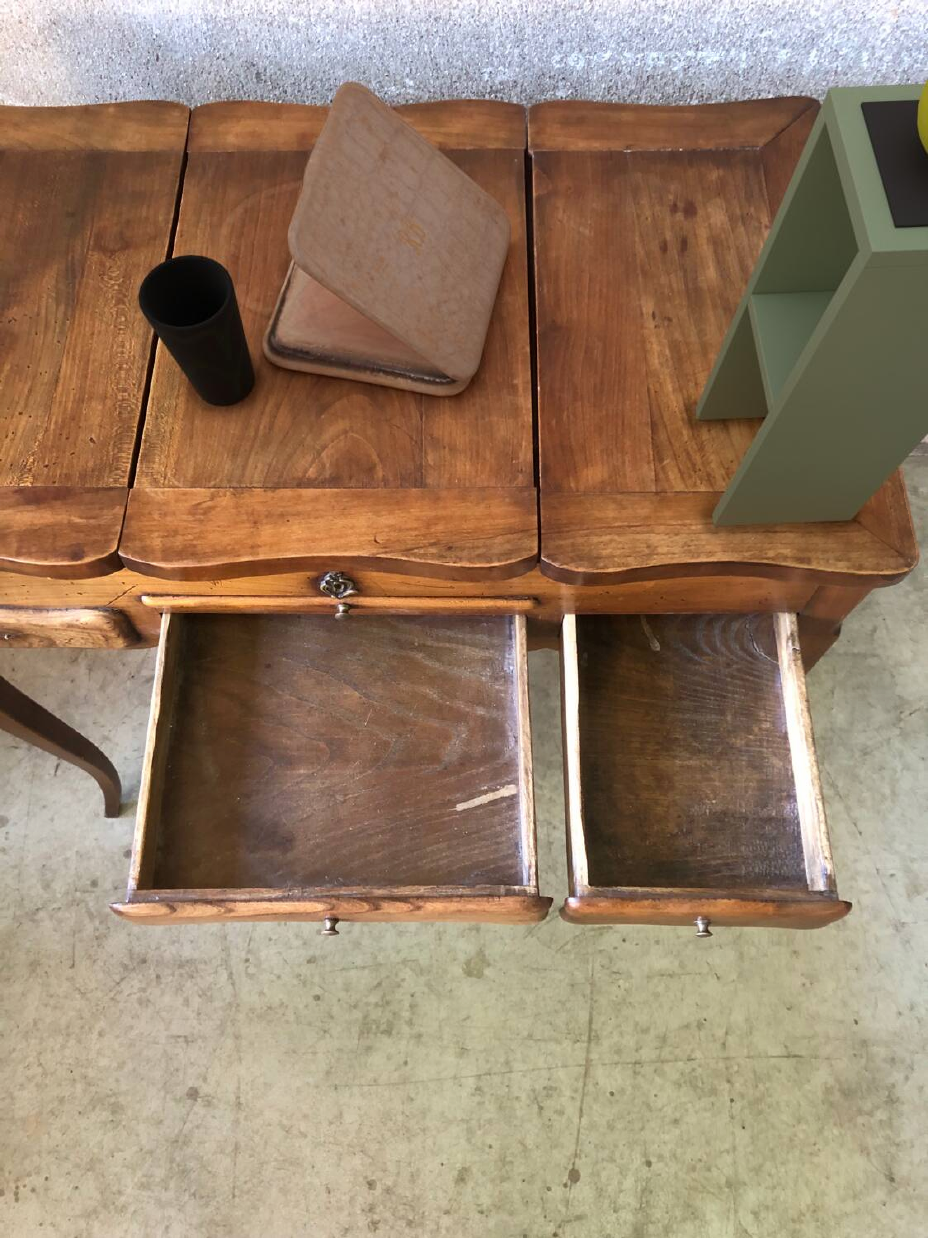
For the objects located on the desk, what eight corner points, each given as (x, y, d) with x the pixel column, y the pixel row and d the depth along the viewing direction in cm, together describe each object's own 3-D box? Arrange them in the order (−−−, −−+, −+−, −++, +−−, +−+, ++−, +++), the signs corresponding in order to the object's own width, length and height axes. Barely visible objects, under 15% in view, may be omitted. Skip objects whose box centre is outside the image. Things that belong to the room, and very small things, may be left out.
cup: (262, 416, 80) (227, 330, 68) (179, 415, 80) (131, 329, 69) (269, 347, 82) (237, 253, 71) (190, 347, 82) (145, 253, 71)
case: (472, 408, 80) (471, 284, 65) (255, 367, 82) (206, 237, 66) (516, 238, 87) (525, 91, 72) (315, 204, 88) (283, 54, 73)
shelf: (824, 403, 79) (1039, 74, 49) (850, 520, 75) (1102, 238, 45) (694, 409, 79) (830, 83, 49) (713, 526, 75) (874, 248, 45)
